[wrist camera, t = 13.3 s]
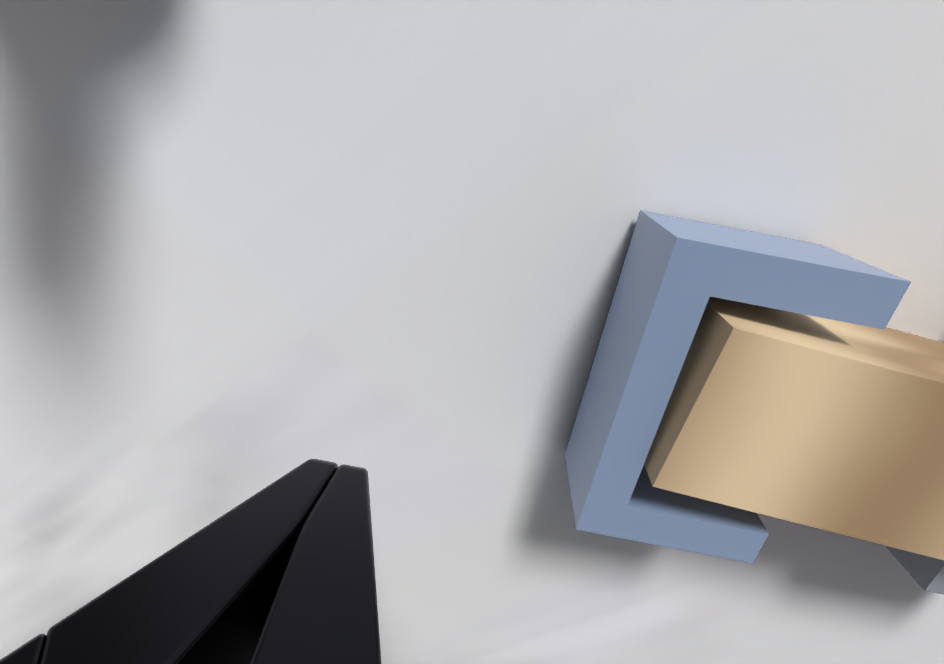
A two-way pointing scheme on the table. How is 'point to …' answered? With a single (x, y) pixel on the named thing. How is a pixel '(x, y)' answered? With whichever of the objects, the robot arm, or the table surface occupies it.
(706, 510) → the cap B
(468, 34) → the table surface
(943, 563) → the grey u channel
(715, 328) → the slat
